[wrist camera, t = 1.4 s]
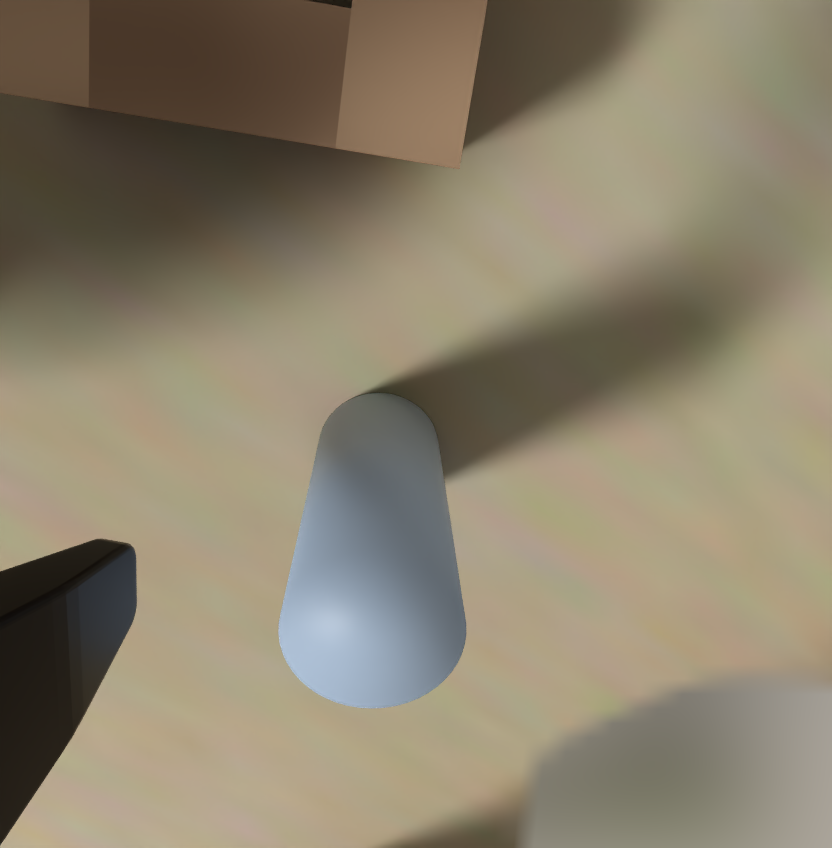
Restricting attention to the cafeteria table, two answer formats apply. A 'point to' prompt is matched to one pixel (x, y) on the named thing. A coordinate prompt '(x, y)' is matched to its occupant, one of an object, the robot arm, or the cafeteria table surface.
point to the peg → (374, 561)
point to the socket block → (259, 67)
